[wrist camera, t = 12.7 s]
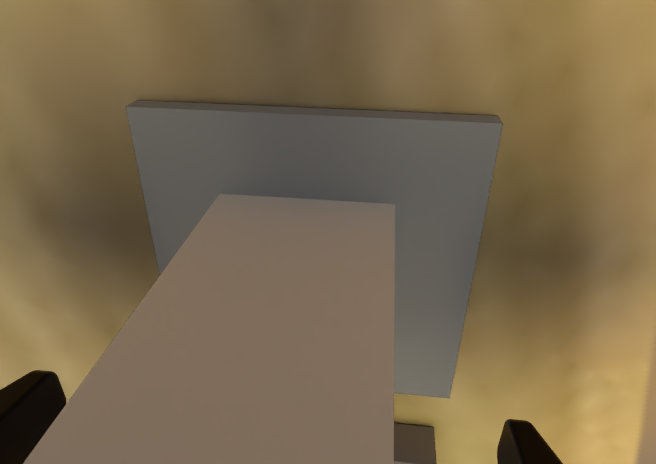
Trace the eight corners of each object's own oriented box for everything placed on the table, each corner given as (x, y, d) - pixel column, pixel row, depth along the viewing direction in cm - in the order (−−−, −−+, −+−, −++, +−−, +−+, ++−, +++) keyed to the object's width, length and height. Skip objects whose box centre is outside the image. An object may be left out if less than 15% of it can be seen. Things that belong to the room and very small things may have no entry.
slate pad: (447, 384, 16) (449, 398, 16) (185, 358, 17) (178, 371, 16) (498, 115, 12) (502, 123, 11) (137, 100, 12) (125, 106, 12)
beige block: (383, 340, 15) (366, 866, 6) (235, 327, 15) (32, 799, 7) (395, 204, 12) (391, 748, 4) (219, 193, 13) (-120, 659, 4)
